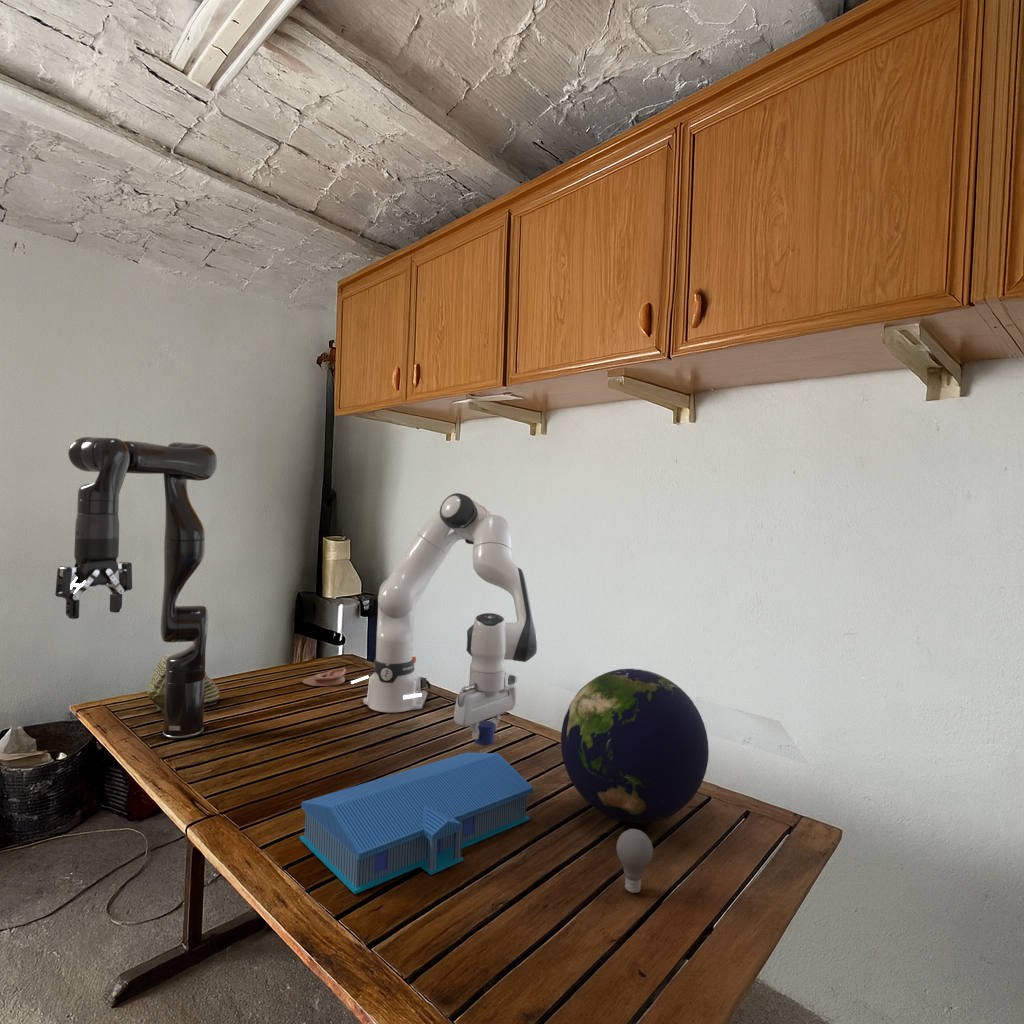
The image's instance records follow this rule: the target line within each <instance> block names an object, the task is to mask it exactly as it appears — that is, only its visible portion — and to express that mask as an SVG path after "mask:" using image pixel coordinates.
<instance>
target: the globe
mask: <svg viewBox="0 0 1024 1024" xmlns="http://www.w3.org/2000/svg"><path fill="white" fill-rule="evenodd" d="M562 722H563V723H562V727H561V733H560V748H561V756H562V762H563V765H564V768H565V770H566V773H567V775H568V778H569V780H570V782H571V783H572V785H573V786H574V788H575V790H576V791H577V792H578V794H579V795H580V796H581V797H582V798H583V799H584V800H585V801H586V802H587V804H589V805H590V806H591V807H593V808H594V809H595V810H596V811H598V812H600V813H601V814H603V815H605V816H607V817H609V818H611V819H613V820H617V821H619V822H624V823H630V824H648V823H649V824H650V823H654V822H659V821H662V820H665V819H667V818H670V817H671V816H673V815H675V814H677V813H678V812H680V811H681V810H682V809H683V808H685V807H686V806H687V805H688V804H689V803H690V802H691V800H692V799H693V798H694V797H695V795H696V794H697V792H698V791H699V789H700V787H701V786H702V784H703V781H704V779H705V777H706V776H705V775H706V773H707V768H708V764H709V756H710V755H709V752H710V751H709V739H708V732H707V728H706V726H705V723H704V720H703V717H702V714H700V712H699V709H698V708H697V706H696V704H695V703H694V701H693V700H692V698H691V697H689V695H688V694H687V693H686V692H685V691H684V690H683V689H682V688H681V687H680V686H678V685H677V684H676V683H675V682H673V681H671V680H670V679H669V678H666V677H665V676H663V675H661V674H658V673H657V672H653V671H650V670H645V669H641V668H619V669H615V670H611V671H607V672H604V673H602V674H601V675H598V676H596V677H594V678H593V679H591V680H590V681H588V682H587V683H586V684H585V685H583V686H582V687H581V689H579V691H578V692H577V693H576V694H575V695H574V697H573V699H572V700H571V702H570V703H569V705H568V707H567V709H566V711H565V715H564V718H563V721H562Z"/></svg>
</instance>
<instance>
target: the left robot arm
mask: <svg viewBox="0 0 1024 1024" xmlns="http://www.w3.org/2000/svg"><path fill="white" fill-rule="evenodd" d="M215 452H216V451H214V450H213V449H212V448H211V447H210V446H208V445H206V444H200V443H191V442H179V441H178V442H177V441H176V442H171V443H169V444H168V445H162V444H156V443H150V442H144V441H143V442H142V441H135V440H122V439H119V438H118V437H117V438H116V437H99V436H98V437H96V436H94V437H93V436H84V437H80V438H77V439H76V440H74V441H73V442H72V443H71V444H70V446H69V448H68V451H67V455H68V459H69V461H70V463H71V464H72V465H73V466H74V467H75V468H76V469H78V470H80V471H82V472H89V473H90V472H91V473H98V475H97V477H96V480H95V481H94V482H91V483H86V484H82V485H81V486H80V487H78V490H77V501H76V502H77V505H76V506H77V507H76V518H75V523H74V524H75V525H74V549H73V551H74V553H73V555H74V556H73V557H74V560H75V564H74V566H64V565H60V566H58V567H57V569H56V570H57V572H56V582H55V593H54V595H55V596H56V597H57V598H62V599H65V615H66V616H67V617H68V619H72V620H77V619H79V618H80V599H79V598H80V597H81V595H82V594H83V593H84V592H85V591H87V590H88V589H89V587H97V586H105V587H107V589H108V590H109V591H110V594H109V612H110V613H114V614H115V613H120V611H121V610H122V607H123V594H124V593H125V592H127V591H131V590H132V589H133V564H132V563H131V562H130V561H129V562H128V561H119V562H117V559H118V558H119V553H120V552H119V551H120V550H119V549H120V520H119V519H120V518H119V507H120V506H119V505H120V502H119V500H120V493H121V489H122V488H123V487H122V486H123V485H124V481H125V478H126V475H127V474H137V475H148V474H149V475H154V474H155V475H158V474H159V475H161V474H163V485H164V486H163V487H164V498H165V500H164V501H165V503H164V504H165V517H164V518H165V520H164V521H165V524H164V538H163V564H164V565H163V574H164V575H163V576H164V577H163V591H162V602H161V603H162V604H161V615H160V637H161V640H162V641H163V642H164V643H189V642H190V643H191V642H192V644H190V646H188V647H187V648H186V649H185V648H184V649H183V650H181V651H179V652H176V653H174V654H170V655H171V656H169V657H168V658H167V660H166V674H165V705H164V708H163V709H162V711H161V714H162V716H163V731H162V737H164V738H166V739H169V740H185V739H190V738H191V739H192V738H194V737H197V736H199V735H202V734H203V732H204V730H205V729H204V722H205V721H204V718H205V706H204V693H205V672H206V664H207V663H206V656H207V655H206V654H207V653H206V652H207V649H206V648H207V637H208V636H207V635H208V627H209V611H208V609H207V607H206V606H205V605H176V603H177V601H178V598H179V595H180V594H181V592H182V590H183V588H184V586H185V585H186V583H187V582H188V581H189V579H190V578H191V577H192V576H193V574H194V572H195V571H196V570H197V569H198V568H199V566H200V565H201V563H202V562H203V560H204V557H205V549H206V546H205V545H206V531H205V528H204V525H203V523H202V521H201V519H200V518H199V516H198V514H197V512H196V510H195V509H194V507H193V505H192V504H191V501H190V497H189V493H188V480H189V481H206V480H209V479H210V478H211V477H213V476H214V475H215V473H216V470H217V467H218V458H217V454H216V453H215ZM117 572H118V577H117V576H116V575H115V574H116V573H117ZM74 576H76V577H75V578H74V580H73V581H72V578H73V577H74Z"/></svg>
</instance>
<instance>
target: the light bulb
mask: <svg viewBox="0 0 1024 1024" xmlns="http://www.w3.org/2000/svg"><path fill="white" fill-rule="evenodd" d="M615 849H616V854H617V857H618V859H619V861H620V863H621V865H622V867H623V873H624V874H623V875H624V876H625V878H624V888H625V890H627V891H628V892H630V893H634V894H635V893H639V892H640V891H641V889H642V887H641V886H642V879H643V877H644V875H645V871H646V868H647V867H648V866H649V864H650V863H651V861H652V859H653V855H654V847H653V843H652V841H651V838H649V836H648V835H647V834H646V833H645V832H643V831H642V830H641V829H636V828H629V829H627V830H625V831H623V832H622V833H621V834H620V835H619V837H618V839H617V841H616V847H615Z"/></svg>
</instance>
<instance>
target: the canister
mask: <svg viewBox="0 0 1024 1024" xmlns="http://www.w3.org/2000/svg"><path fill="white" fill-rule="evenodd" d="M478 729H479V731H481V738H479V739H477V740H476V739H474V743H475V744H476V745H479V746H491V745H493V744H494V742H495V732H494V723H493V722H491V720H483V721H481V722H479V726H478Z"/></svg>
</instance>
